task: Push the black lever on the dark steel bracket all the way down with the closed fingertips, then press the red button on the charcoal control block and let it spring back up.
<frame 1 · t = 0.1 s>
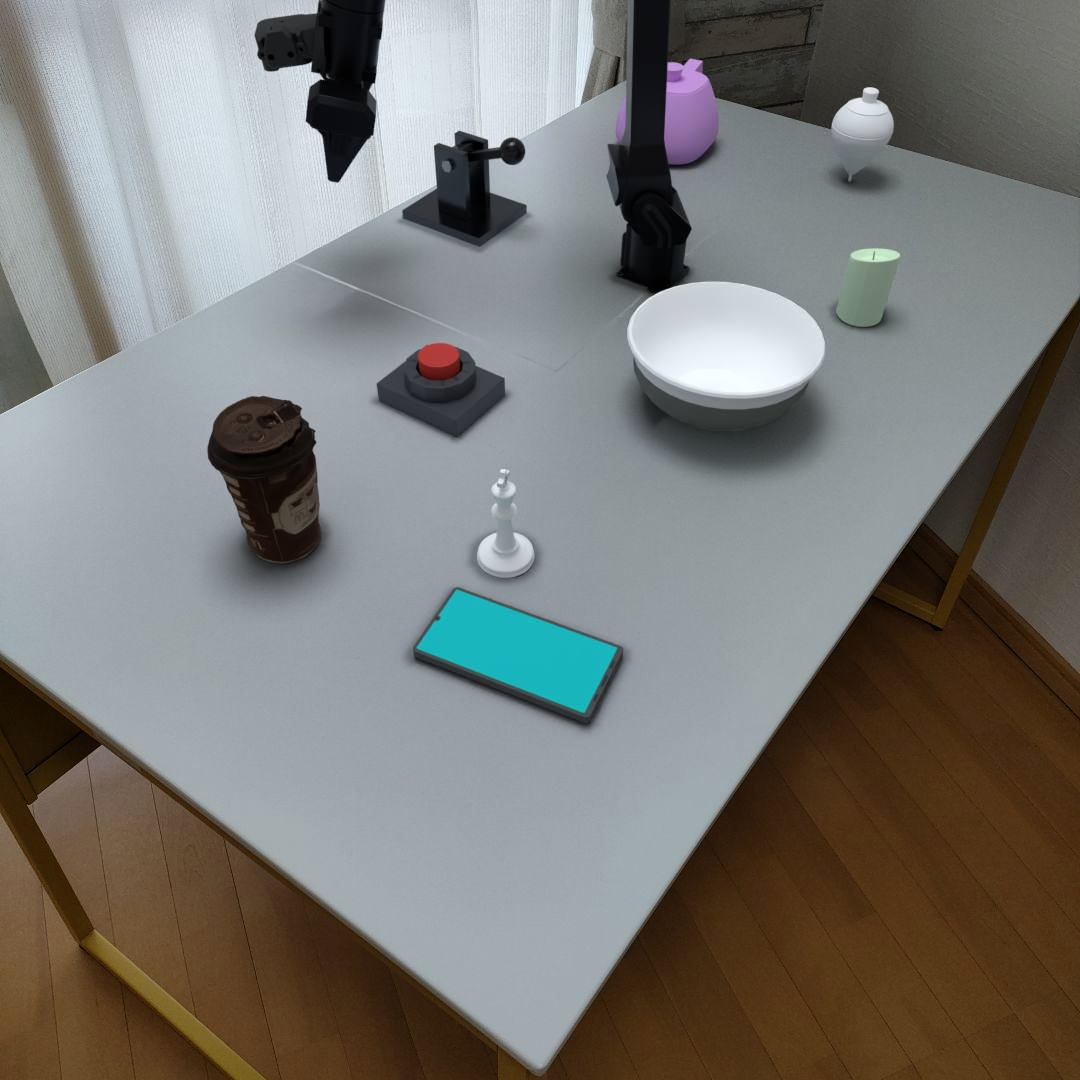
hand: (335, 160, 103), 15 cm above the table, tool pointing down, fingers open, 9 cm apart
bowl: (714, 404, 100), on the table
red button: (439, 362, 97), point 4 cm above the table, slide at 0.1 cm
control block: (442, 398, 100), on the table
teapot: (663, 150, 139), on the table
chess piece: (505, 558, 86), on the table
coffee cup: (288, 539, 87), on the table
spinning top: (848, 182, 132), on the table
lever bracket: (465, 218, 125), on the table
candle: (858, 316, 111), on the table
black lever: (486, 154, 117), point 9 cm above the table, hinge at 20.0°
smartphone: (518, 656, 78), on the table
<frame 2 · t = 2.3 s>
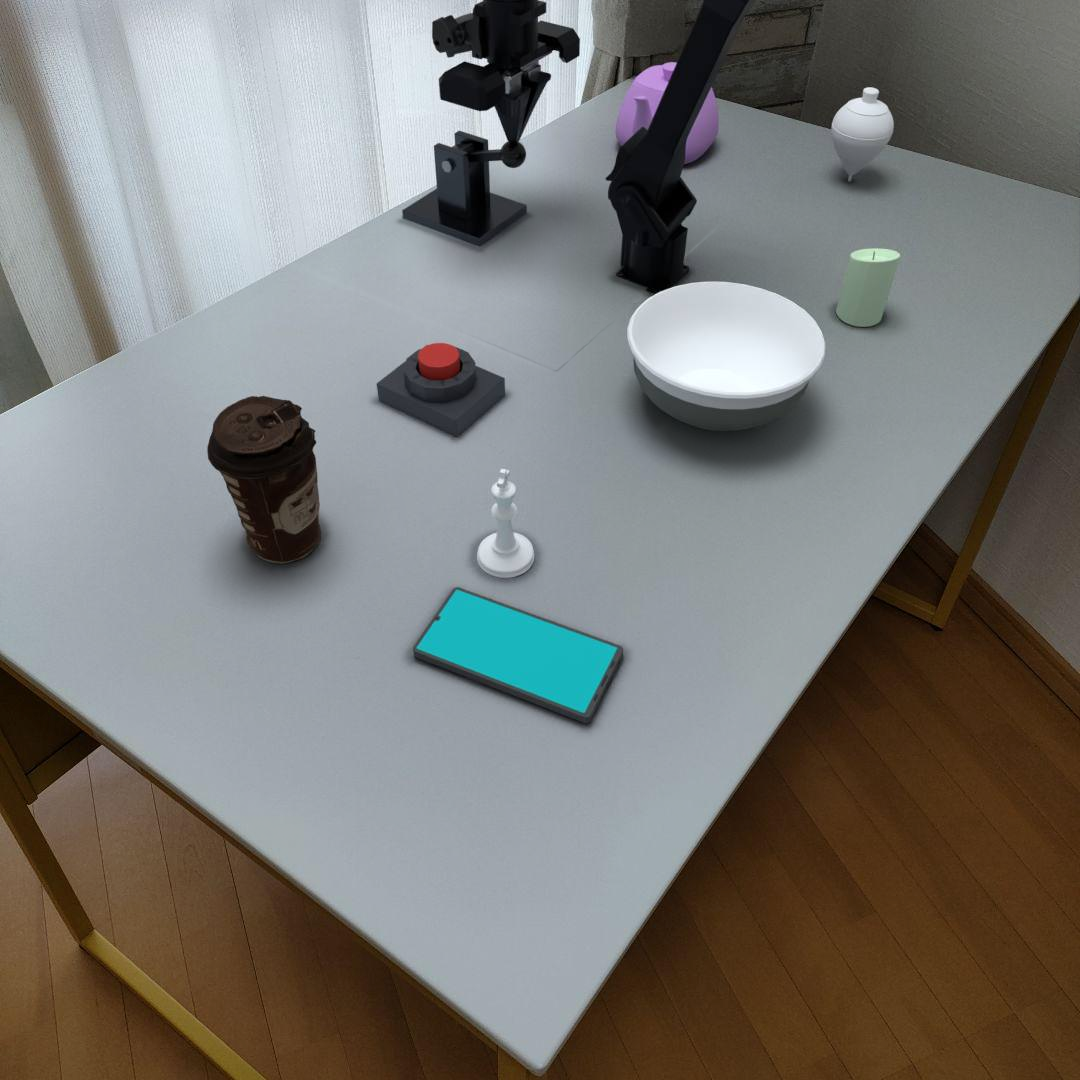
hand: (513, 141, 114), 12 cm above the table, tool pointing down, fingers closed
black lever: (487, 155, 117), point 9 cm above the table, hinge at 17.6°, touching gripper
everything else where it was.
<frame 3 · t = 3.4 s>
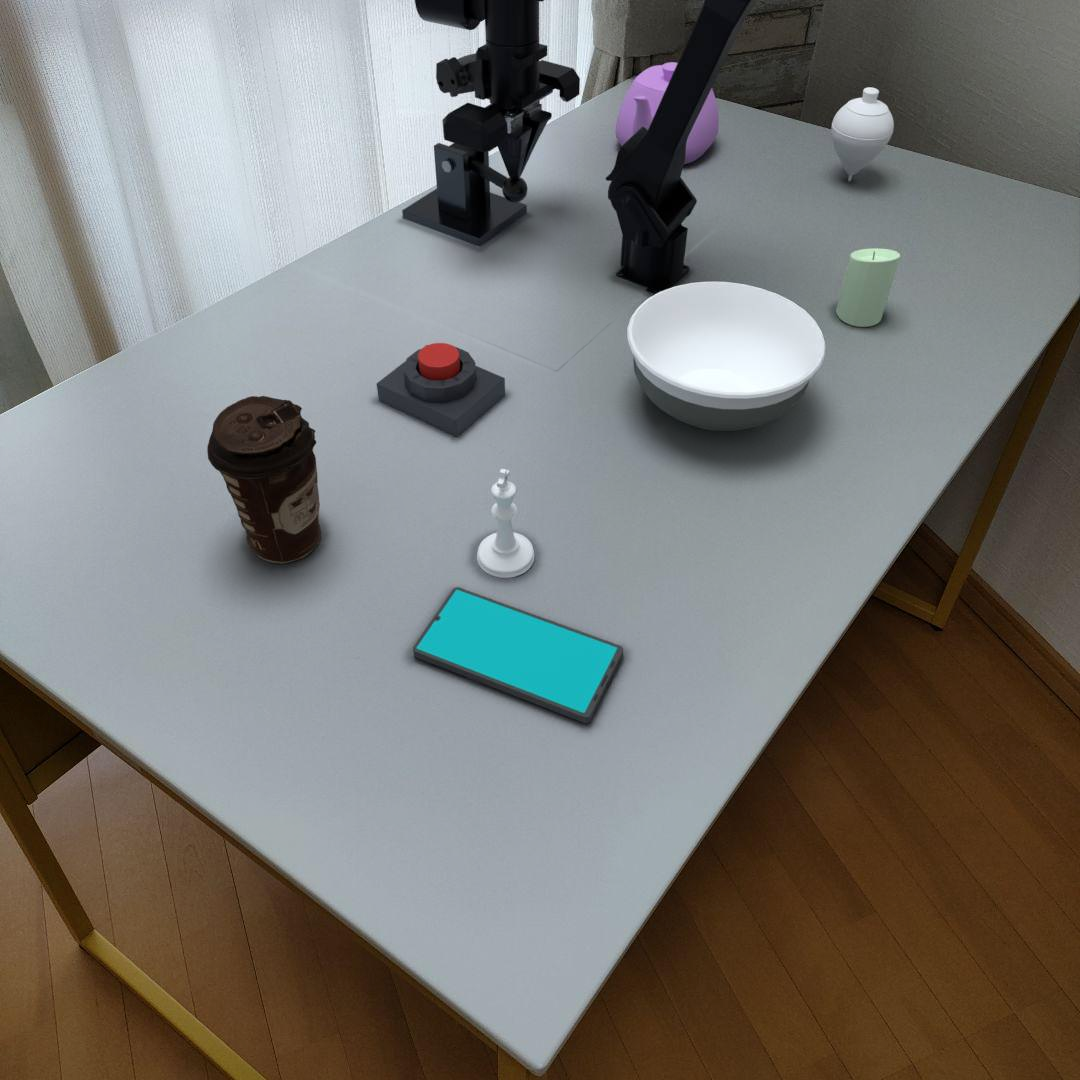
hand: (514, 177, 117), 8 cm above the table, tool pointing down, fingers closed, pressing on black lever
black lever: (488, 173, 119), point 7 cm above the table, hinge at -13.3°, touching gripper
everything else where it was.
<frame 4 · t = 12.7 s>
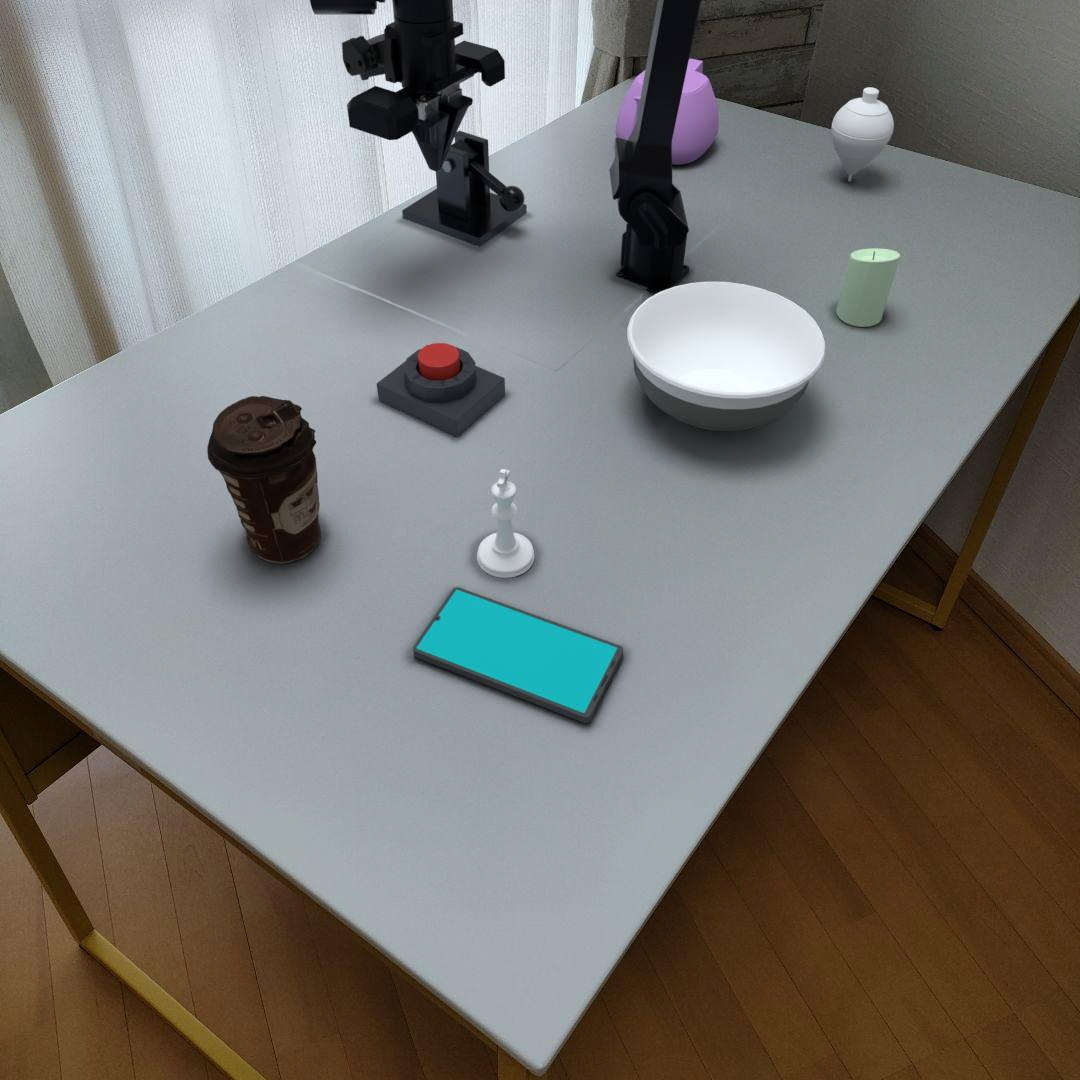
hand: (435, 169, 107), 13 cm above the table, tool pointing down, fingers closed
black lever: (487, 178, 119), point 6 cm above the table, hinge at -23.4°
everything else where it was.
at the end: black lever at -23° (first picture: +20°); red button pushed in 1.1 cm at the most during the clip, back to where it started at the end; red button slide at 0.1 cm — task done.
